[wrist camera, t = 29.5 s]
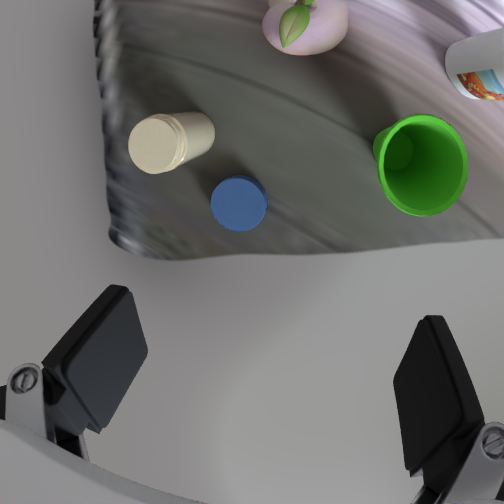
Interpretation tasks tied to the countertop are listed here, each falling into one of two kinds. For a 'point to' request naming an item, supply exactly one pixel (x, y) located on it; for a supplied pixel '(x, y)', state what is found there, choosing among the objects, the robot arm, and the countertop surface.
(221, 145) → the countertop surface
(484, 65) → the milk bottle
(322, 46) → the decorative fruit
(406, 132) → the cup
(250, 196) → the jar lid
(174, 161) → the jar
